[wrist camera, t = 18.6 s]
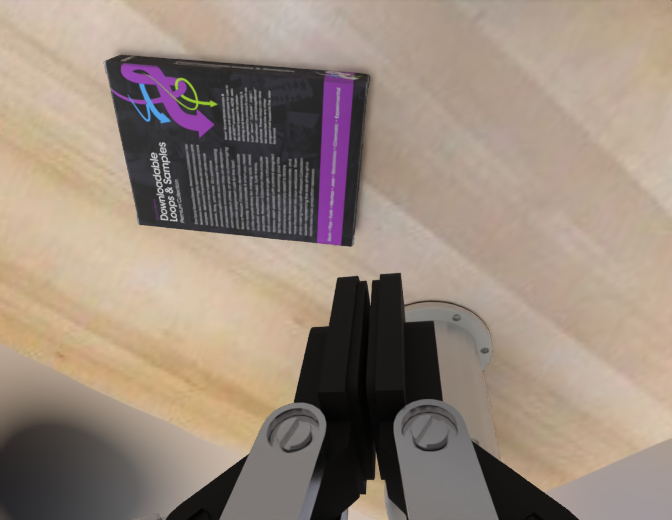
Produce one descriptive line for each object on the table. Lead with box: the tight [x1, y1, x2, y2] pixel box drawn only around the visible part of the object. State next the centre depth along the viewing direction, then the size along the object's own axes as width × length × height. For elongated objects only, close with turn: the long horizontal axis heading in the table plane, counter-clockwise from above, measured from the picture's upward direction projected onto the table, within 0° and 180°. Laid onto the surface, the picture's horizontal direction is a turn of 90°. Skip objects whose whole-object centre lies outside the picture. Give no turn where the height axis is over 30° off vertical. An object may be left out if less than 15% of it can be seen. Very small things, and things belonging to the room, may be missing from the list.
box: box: [103, 55, 370, 247], centre depth 38 cm, size 14×4×20 cm
